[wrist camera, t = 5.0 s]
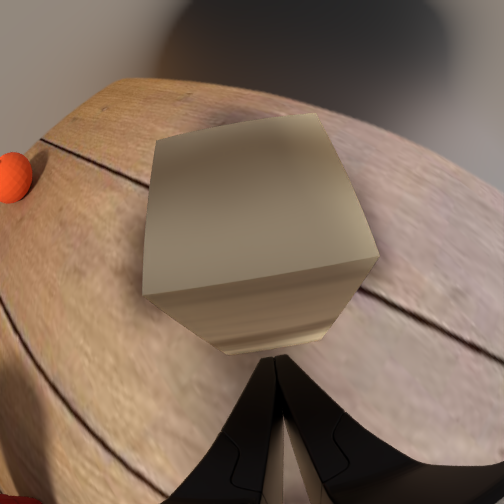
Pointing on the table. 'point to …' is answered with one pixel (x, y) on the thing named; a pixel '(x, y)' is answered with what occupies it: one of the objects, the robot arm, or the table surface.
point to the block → (254, 233)
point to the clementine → (14, 177)
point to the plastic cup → (17, 500)
